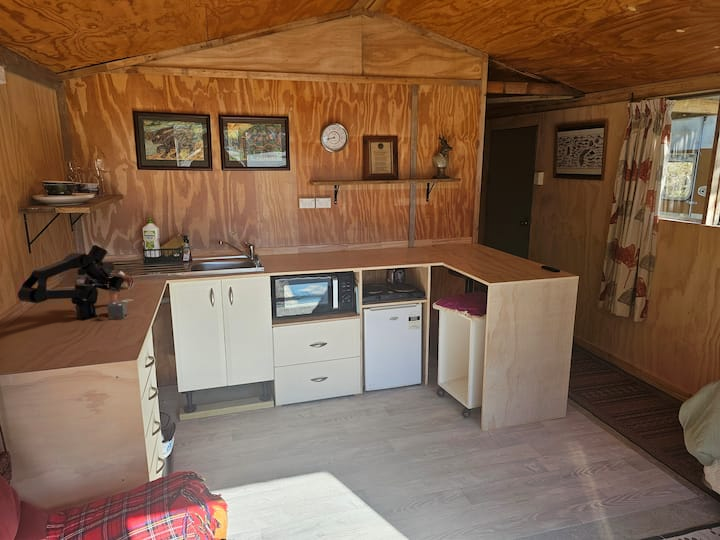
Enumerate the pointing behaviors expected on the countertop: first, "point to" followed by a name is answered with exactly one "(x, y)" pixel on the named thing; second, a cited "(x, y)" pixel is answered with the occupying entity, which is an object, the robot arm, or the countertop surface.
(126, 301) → the game board
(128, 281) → the bull figurine
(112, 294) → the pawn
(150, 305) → the countertop surface
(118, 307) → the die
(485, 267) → the countertop surface
